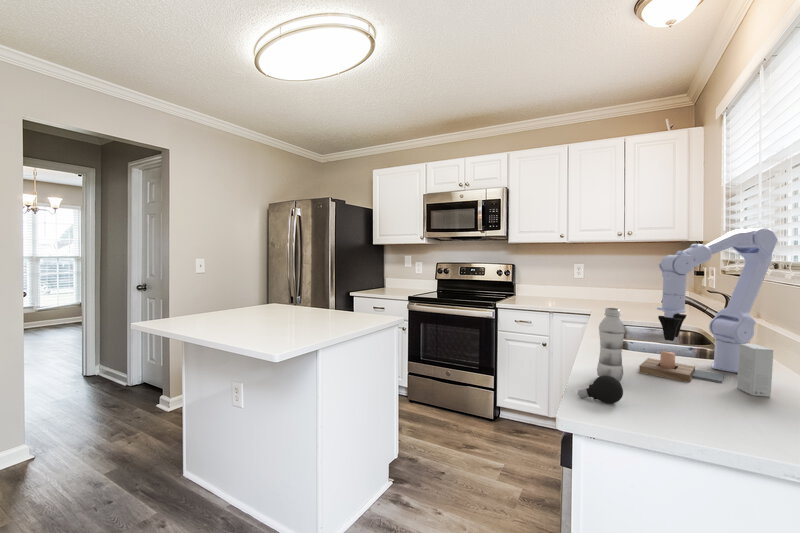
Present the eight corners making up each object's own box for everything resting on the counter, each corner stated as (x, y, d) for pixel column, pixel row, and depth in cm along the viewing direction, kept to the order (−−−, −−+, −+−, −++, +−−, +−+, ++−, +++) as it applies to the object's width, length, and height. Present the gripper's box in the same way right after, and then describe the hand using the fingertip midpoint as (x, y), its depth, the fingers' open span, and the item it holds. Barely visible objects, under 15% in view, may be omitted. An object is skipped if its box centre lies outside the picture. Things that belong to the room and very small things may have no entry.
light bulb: (572, 376, 96) (615, 368, 92) (581, 399, 97) (625, 391, 92) (572, 389, 90) (619, 381, 86) (582, 414, 91) (629, 407, 86)
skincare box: (771, 397, 96) (774, 350, 95) (751, 395, 97) (754, 348, 96) (754, 389, 102) (757, 344, 101) (736, 387, 103) (738, 343, 102)
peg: (660, 370, 117) (661, 350, 117) (675, 372, 115) (676, 352, 114) (658, 372, 115) (659, 352, 114) (673, 375, 112) (674, 355, 112)
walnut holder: (647, 364, 123) (648, 357, 123) (694, 372, 115) (695, 366, 115) (639, 372, 114) (639, 365, 114) (689, 382, 106) (689, 375, 106)
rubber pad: (693, 371, 117) (693, 369, 117) (723, 376, 112) (723, 374, 112) (689, 377, 111) (690, 375, 111) (721, 383, 106) (721, 381, 106)
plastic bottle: (625, 380, 106) (629, 308, 106) (619, 386, 102) (622, 311, 101) (600, 375, 111) (603, 306, 110) (593, 380, 106) (596, 308, 105)
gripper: (662, 291, 125) (660, 332, 126) (653, 294, 115) (650, 339, 116) (689, 293, 121) (687, 336, 121) (682, 297, 110) (679, 344, 111)
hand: (671, 338), depth 118 cm, fingers open, 7 cm apart
